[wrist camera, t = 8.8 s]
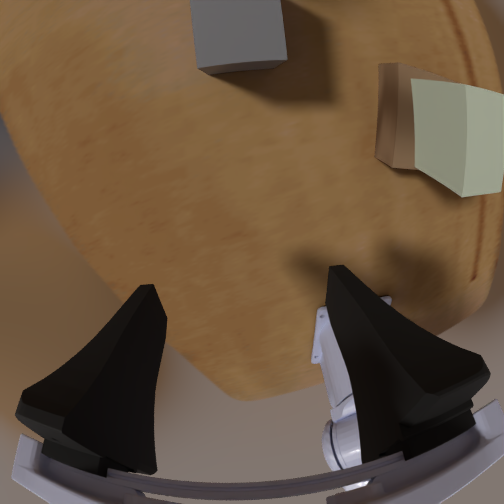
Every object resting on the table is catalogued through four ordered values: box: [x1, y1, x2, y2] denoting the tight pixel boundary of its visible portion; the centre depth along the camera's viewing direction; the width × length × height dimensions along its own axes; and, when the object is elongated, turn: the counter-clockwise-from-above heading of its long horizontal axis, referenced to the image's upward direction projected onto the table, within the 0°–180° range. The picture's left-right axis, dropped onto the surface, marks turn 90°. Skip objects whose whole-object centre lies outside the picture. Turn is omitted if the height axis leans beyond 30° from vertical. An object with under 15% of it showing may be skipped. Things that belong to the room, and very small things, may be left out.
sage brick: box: [411, 79, 504, 197], centre depth 11 cm, size 6×4×5 cm, turn 11°
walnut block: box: [375, 63, 460, 170], centre depth 14 cm, size 7×7×3 cm
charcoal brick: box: [190, 0, 287, 75], centre depth 10 cm, size 6×4×5 cm, turn 6°
